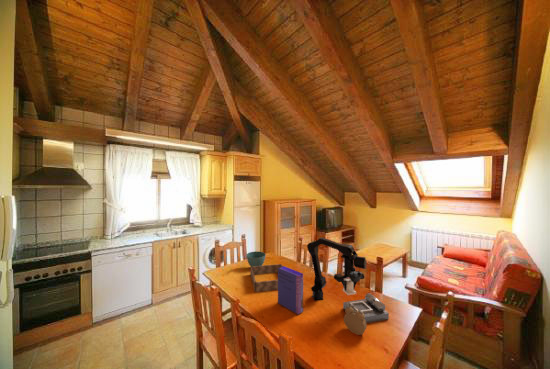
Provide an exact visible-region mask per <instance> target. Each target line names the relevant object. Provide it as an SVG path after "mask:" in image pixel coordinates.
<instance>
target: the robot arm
mask: <svg viewBox="0 0 550 369" xmlns="http://www.w3.org/2000/svg"><path fill="white" fill-rule="evenodd" d="M320 245H321V246H322V245H323V246H326V247H328V248H330V249H331V248H332V249H334V250H337V251H339V252H340V253H341V254H342V255H341V256H340V258H342V259H343V266H342V268H343V271H342V273H343V275H342V274H341V273H335V274H334V275H333V279H334V280H335V281H336V282H337V283H341V284H342V287H343V289H345V291H346V283H347V281H346V279H351V281H352V282H354V289H355V288H356V285H357V283H359V282H360V280H364V279H365V273H363V272H361V271H360V270H358V271H356V268H358V269H363V270H367V265H368V261H367V259H366V256H359V255H358V253H357V252H356V250H355V247H354V245H352V244H348V243H339V242H336V241H334V240H331V239H328V238H325V237H320V238H319V239H317V240H313V241H310V242H309V243H308V244H307V245H306V247H307V251H308V253H309V254H310V257H311V261H312V267H313V272H314V273H313V274H314V281H313V282H314V285H313V286H312V287H311V288H310V289H311V292H312V295H311V298H312V299H313V300H314V302H317V301H324V291H323V290H324V288H325V286H326V285H327V279H326V276H324V275H323V274H322V269H321V265H320V259H319V247H320Z"/></svg>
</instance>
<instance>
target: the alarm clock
mask: <svg viewBox="0 0 550 369" xmlns="http://www.w3.org/2000/svg"><path fill="white" fill-rule="evenodd" d="M350 306H353V307H355V308H357V309H358V311H355V310H354V309H353V308H352V307H350ZM350 306H349V307H348V306H347V308H346V309H345V310H344V312H345V314H344V316H343V322H344V325H345V326H346V328H347V329H348V330H349V331H350V332H351V333H353V334H355V335H357V336H363V334H364V333H365V331H366V329H367V328H368V327H367V326H368V325H367V324H368V323H366V321H365V319H364V318H365V315H364V313H363V312H362V311H360V309H359V308H358V307H357V306H355V305H350Z"/></svg>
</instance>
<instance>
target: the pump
mask: <svg viewBox="0 0 550 369" xmlns="http://www.w3.org/2000/svg"><path fill="white" fill-rule="evenodd" d="M346 281H347V283H346V291H345V289H344V288H342V292H344V293H345V294H346V295H347V296H353V295H357V291H356V290H355V288H354V282H352V281H351V279H350V278H346Z"/></svg>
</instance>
